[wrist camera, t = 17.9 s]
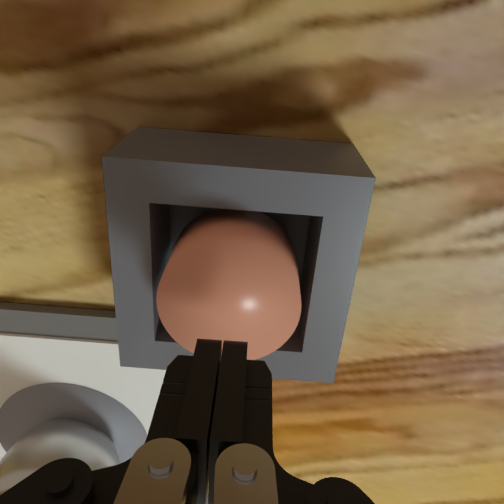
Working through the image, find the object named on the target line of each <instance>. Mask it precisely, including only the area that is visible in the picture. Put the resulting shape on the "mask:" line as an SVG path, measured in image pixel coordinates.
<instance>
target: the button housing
mask: <svg viewBox="0 0 504 504" xmlns="http://www.w3.org/2000/svg"><path fill="white" fill-rule="evenodd" d="M102 167H103V178H104V189H105V200H106V212H107V223H108V234H109V245H110V257H111V268H112V279H113V290H114V302H115V313H116V324H117V336H118V347H119V358H120V366H122V367H135V368H147V369H160V370H166V369H167V366H168V365H169V364H170V363H171V362H172V361H173V360H174V359H175V357H176V356H177V355H188V356H193V355H194V354H193V353H191V352H190V351H188V350H186V349H185V348H183V347H182V346H181V345H179V344H178V343H177V342H176V341H175V340H174V339H173V338H172V337H171V336H170V334H169V333H168V332H167V331H166V329H165V327H164V326H163V324H162V322H161V319H160V317H159V314H158V310H157V303H156V298H157V289H158V285H159V282H160V280H161V277H162V275H163V272H164V270H165V268H166V265H167V263H168V260H169V258H170V256H171V253H172V251H173V248H174V246H175V244H176V241H177V239H178V237H179V235H180V233H181V232H182V231H183V229H184V228H185V227H186V226H187V225H188V224H189V223H190V222H191V221H192V220H193V219H195V218H196V217H198V216H199V215H201V214H203V213H205V212H208V211H210V210H213V209H217V208H220V209H233V210H246V211H258V212H261V213H263V214H265V215H267V216H268V217H270V218H272V219H273V220H274V221H276V222H277V223H278V224H279V225H280V226H281V227H282V228H283V229H284V230H285V231H286V233H287V234H288V236H289V237H290V239H291V241H292V243H293V245H294V248H295V252H296V257H297V267H298V276H299V285H300V294H301V315H300V319H299V322H298V325H297V327H296V329H295V331H294V332H293V334H292V335H291V337H290V338H289V339H288V340H287V341H286V342H285V343H284V344H283V345H282V346H281V347H280V348H278V349H277V350H276V351H274V352H272V353H270V354H269V355H267V356H264V357H262V358H259V359H256V360H261V361H265V363H266V364H267V366H268V368H269V370H270V372H271V373H272V378H275V379H288V380H301V381H313V382H326V383H333V382H334V378H335V373H336V368H337V363H338V358H339V353H340V348H341V344H342V339H343V334H344V329H345V324H346V319H347V314H348V310H349V305H350V300H351V295H352V290H353V285H354V280H355V276H356V271H357V266H358V261H359V256H360V251H361V246H362V242H363V237H364V232H365V227H366V222H367V217H368V212H369V208H370V203H371V198H372V193H373V188H374V183H375V176H374V175H373V173H372V172H371V170H370V169H369V167H368V166H367V164H366V163H365V161H364V160H363V158H362V156H361V155H360V153H359V152H358V150H357V149H356V147H355V146H354V144H352V143H339V142H326V141H313V140H300V139H288V138H275V137H262V136H249V135H237V134H224V133H211V132H198V131H185V130H173V129H160V128H147V127H137V128H136V129H134V130H133V131H132V132H131V133H129V134H128V135H127V136H126V137H125V138H123V139H122V140H121V141H120V142H119V143H117V144H116V145H115V146H114V147H113V148H111V149H110V150H109V151H108V152H107V153H105V154H104V155H103V156H102Z"/></svg>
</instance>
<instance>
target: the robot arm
mask: <svg viewBox="0 0 504 504" xmlns="http://www.w3.org/2000/svg"><path fill="white" fill-rule="evenodd" d="M247 347H248V342H243V341H228V340H224V342H223V349H222V340H212V339H197V342H196V346H195V351H194V355H193V356H188V355H177V356H176V357H175V359H174V360H173V361H172V362H171V363H170V364H169V365H168V366H167V369H166V373H165V376H164V379H163V384H162V386H161V390H160V395H159V397H158V400H157V404H156V407H155V410H154V414H153V417H152V421H151V424H150V428H149V431H148V435H147V438H146V441H145V443H144V444H143V445H142V446H141V447H139V448H138V449H137V450H136V452H135V453H134V455H133V456H132V457H131V458H130V459H128V460H127V461H125V462H123V463H120V464H118V465H114V466H110V467H106V468H101V469H97V470H93V471H91V468H90V467H89V466H88V464H86V463H85V462H84V461H82V460H80V459H76V458H62V459H57V460H54V461H52V462H50V463H47V464H46V465H44V466H42V467H41V468H39V469H38V470H37V471H35V472H34V473H32V474H31V475H29V476H28V477H26V478H25V479H23V480H22V481H20V482H19V483H17V484H16V485H14V486H13V487H11V488H10V489H8V490H7V491H5V492H4V493H3V494H1V495H0V504H206V496H207V489H208V481H209V492H208V504H375V503H374V502H373V501H372V500H371V499H370V498H369V497H368V496H367V495H366V494H365V493H364V492H363V491H362V490H361V489H360V488H359V487H357V486H356V485H355V484H353V483H352V482H350V481H348V480H345V479H342V478H337V477H329V478H324V479H321V480H319V481H318V482H316V483H315V484H314V485H313V484H311V483H308V482H306V481H303V480H301V479H298V478H296V477H294V476H292V475H290V474H289V473H287V472H286V471H285V470H284V469H283V468H282V467H281V466H280V465H279V463H278V462H277V460H276V458H275V456H274V453H273V440H272V373H271V372H270V370H269V368H268V366H267V364H266V363H265V361H261V360H247Z"/></svg>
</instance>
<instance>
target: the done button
mask: <svg viewBox="0 0 504 504" xmlns="http://www.w3.org/2000/svg"><path fill="white" fill-rule="evenodd" d="M156 303H157V310H158V314H159V317H160V319H161V322H162V324H163V326H164V327H165V329H166V331H167V332H168V333H169V334H170V336H171V337H172V338H173V339H174V340H175V341H176V342H177V343H178V344H179V345H181V346H182V347H183V348H185V349H186V350H188V351H190V352H191V353H193V354H194V351H195V346H196V342H197V339H212V340H222V349H223V342H224V340H228V341H243V342H248V347H247V360H256V359H259V358H262V357H264V356H267V355H269V354H270V353H272V352H274V351H276V350H277V349H278V348H280V347H281V346H282V345H283V344H284V343H285V342H286V341H287V340H288V339H289V338H290V337H291V335H292V334H293V332H294V331H295V329H296V327H297V325H298V322H299V319H300V315H301V294H300V285H299V276H298V267H297V257H296V252H295V248H294V245H293V243H292V241H291V239H290V237H289V236H288V234H287V233H286V231H285V230H284V229H283V228H282V227H281V226H280V225H279V224H278V223H277V222H276V221H274V220H273V219H272V218H270V217H268V216H267V215H265V214H263V213H261V212H258V211H246V210H233V209H220V208H217V209H213V210H210V211H208V212H205V213H203V214H201V215H199V216H198V217H196V218H195V219H193V220H192V221H191V222H190V223H189V224H188V225H187V226H186V227H185V228H184V229H183V231H182V232H181V233H180V235H179V237H178V239H177V241H176V244H175V246H174V248H173V251H172V253H171V256H170V258H169V260H168V263H167V265H166V268H165V270H164V272H163V275H162V277H161V280H160V282H159V285H158V289H157V298H156Z"/></svg>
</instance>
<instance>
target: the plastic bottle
mask: <svg viewBox="0 0 504 504" xmlns="http://www.w3.org/2000/svg"><path fill="white" fill-rule="evenodd" d="M62 458H76V459H80V460H82V461H84V462H85V463H86V464H88V466H89V467H90V468H91V471H93V470H97V469H101V468H106V467H110V466H114V465H118V464H120V459H119V456H118V453H117V450H116V448H115V446H114V444H113V442H112V441H111V440H110V438H109V437H108V436H107V435H106V434H104V433H103V432H102V431H101V430H99V429H97V428H96V427H94V426H92V425H90V424H87V423H85V422H81V421H77V420H70V419H56V420H51V421H47V422H44V423H42V424H40V425H38V426H35V427H33V428H31V429H29V430H28V431H26V432H25V433H23V434H22V435H21V437H20V438H19V439H18V440H17V441H16V442H15V443H14V445H13V446H12V447H11V448H10V449H9V450H8V452H7V453H6V454H5V455H4V456H3V458H2V459H1V461H0V495H1V494H3V493H4V492H5V491H7V490H8V489H10V488H11V487H13V486H14V485H16V484H17V483H19V482H20V481H22V480H23V479H25V478H26V477H28V476H29V475H31V474H32V473H34V472H35V471H37V470H38V469H39V468H41V467H42V466H44V465H46V464H47V463H50V462H52V461H54V460H57V459H62Z"/></svg>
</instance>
